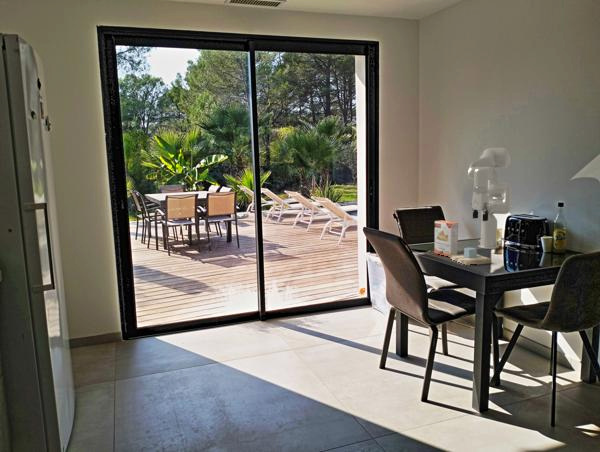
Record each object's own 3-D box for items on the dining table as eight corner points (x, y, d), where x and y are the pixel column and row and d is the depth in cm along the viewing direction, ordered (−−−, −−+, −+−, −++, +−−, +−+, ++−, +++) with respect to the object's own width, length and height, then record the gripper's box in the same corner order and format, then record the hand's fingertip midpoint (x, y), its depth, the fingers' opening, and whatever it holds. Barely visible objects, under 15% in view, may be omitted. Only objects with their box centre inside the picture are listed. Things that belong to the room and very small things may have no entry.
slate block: (463, 256, 279) (464, 248, 278) (471, 255, 280) (471, 247, 279) (468, 258, 274) (469, 249, 273) (476, 257, 275) (476, 249, 274)
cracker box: (433, 254, 298) (434, 220, 295) (441, 253, 301) (441, 219, 298) (450, 258, 286) (451, 223, 283) (457, 257, 289) (458, 222, 285)
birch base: (450, 259, 283) (450, 255, 283) (474, 257, 287) (474, 253, 286) (465, 265, 268) (465, 261, 267) (490, 263, 272) (491, 258, 271)
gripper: (466, 189, 282) (466, 217, 286) (484, 192, 266) (483, 222, 269) (478, 188, 284) (477, 216, 287) (496, 191, 267) (495, 221, 271)
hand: (480, 219), depth 278 cm, fingers open, 9 cm apart
